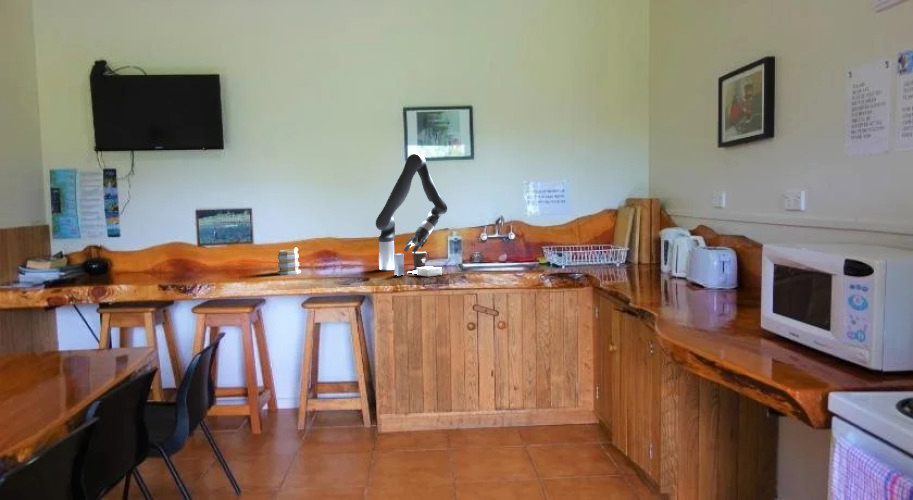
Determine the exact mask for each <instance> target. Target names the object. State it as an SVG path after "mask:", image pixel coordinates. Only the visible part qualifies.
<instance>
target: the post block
mask: <svg viewBox="0 0 913 500" xmlns="http://www.w3.org/2000/svg"><path fill="white" fill-rule="evenodd" d="M408 273H412V274H411V275H414V274H417V276H422V277H428V278H429V277H434V276H435V277H436V276H442V275H443V267H441V266H440V267H439V266H438V267H434V266H433V265H432V266H431V265H429V266H427V265H426V266H425V267H419V268H417V269H416V270H412V271H407V274H408Z"/></svg>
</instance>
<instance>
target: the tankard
mask: <svg viewBox="0 0 913 500" xmlns="http://www.w3.org/2000/svg"><path fill="white" fill-rule="evenodd" d="M298 251H299V248H298V247H296V246H295V247H294V248H293V249H283V250H278V254H277V260H279V261H278V264H277V265H278V266H277V267H278V268H279V270H277V272H276V273H277V275H279V274H280V275H279V276H292V275H298V274H301V273H302V270H301V269H300V268H299V266H300V262H299V258H300V256H299V253H298ZM291 274H292V275H291Z"/></svg>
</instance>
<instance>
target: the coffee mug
mask: <svg viewBox="0 0 913 500" xmlns="http://www.w3.org/2000/svg"><path fill="white" fill-rule="evenodd" d="M429 258H430V256H429V253H427V252H426V251H416V253H413V252H412V263H413V267H414V270H417V268H419V267H426V264H427V262H428V260H429Z"/></svg>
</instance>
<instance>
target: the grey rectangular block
mask: <svg viewBox="0 0 913 500" xmlns="http://www.w3.org/2000/svg"><path fill="white" fill-rule="evenodd" d="M404 256H405V254H404V253H394V270H393V272H394V276H395V275H397V276H396V277H400V276H401V275H403V276H405V259H404V258H405V257H404ZM401 277H402V276H401Z"/></svg>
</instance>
